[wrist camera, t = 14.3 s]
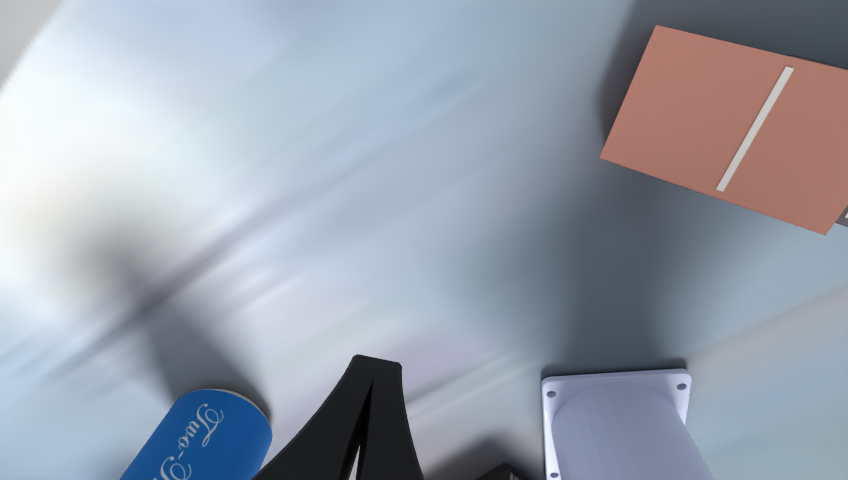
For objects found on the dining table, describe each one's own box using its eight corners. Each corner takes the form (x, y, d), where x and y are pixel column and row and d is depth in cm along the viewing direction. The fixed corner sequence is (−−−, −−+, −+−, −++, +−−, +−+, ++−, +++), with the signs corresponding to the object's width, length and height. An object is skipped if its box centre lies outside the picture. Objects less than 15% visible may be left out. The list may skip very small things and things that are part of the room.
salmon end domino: (599, 158, 18) (826, 235, 16) (655, 24, 16) (931, 89, 13) (605, 149, 20) (810, 218, 18) (657, 28, 18) (901, 87, 15)
